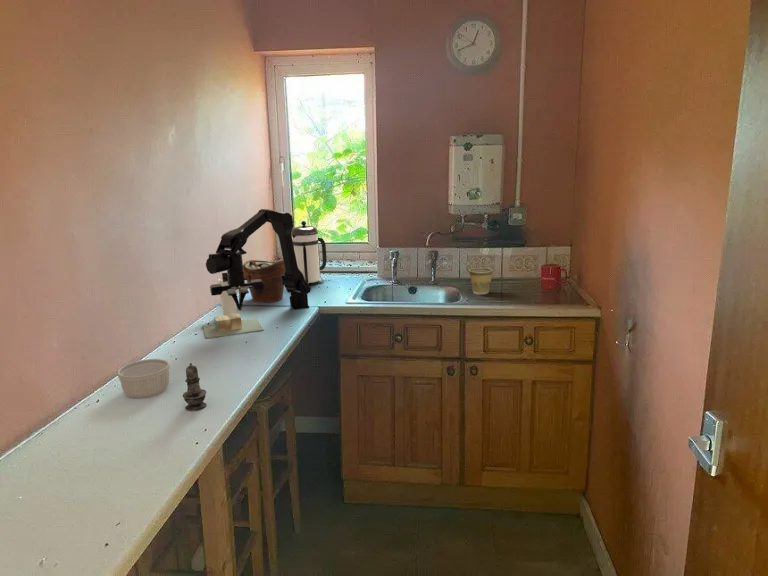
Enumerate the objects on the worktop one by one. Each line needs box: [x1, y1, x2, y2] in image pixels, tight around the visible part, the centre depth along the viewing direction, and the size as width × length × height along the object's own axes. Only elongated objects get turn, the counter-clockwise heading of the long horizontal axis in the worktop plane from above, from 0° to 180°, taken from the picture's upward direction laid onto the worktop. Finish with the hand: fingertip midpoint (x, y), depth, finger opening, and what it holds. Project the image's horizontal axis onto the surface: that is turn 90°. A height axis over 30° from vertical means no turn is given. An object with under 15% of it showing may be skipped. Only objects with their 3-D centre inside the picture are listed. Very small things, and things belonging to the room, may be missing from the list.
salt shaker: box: [182, 362, 207, 412], centre depth 151 cm, size 6×6×12 cm
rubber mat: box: [202, 317, 265, 339], centre depth 217 cm, size 20×16×1 cm
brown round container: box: [243, 258, 285, 303], centre depth 255 cm, size 18×20×18 cm
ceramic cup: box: [468, 267, 494, 296], centre depth 254 cm, size 13×10×10 cm
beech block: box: [213, 313, 242, 332], centre depth 216 cm, size 4×6×9 cm
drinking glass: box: [217, 277, 238, 316], centre depth 231 cm, size 7×7×15 cm
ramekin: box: [117, 358, 171, 399], centre depth 163 cm, size 13×13×7 cm
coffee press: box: [291, 220, 327, 286], centre depth 281 cm, size 17×16×30 cm
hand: (239, 309), depth 217 cm, fingers closed
